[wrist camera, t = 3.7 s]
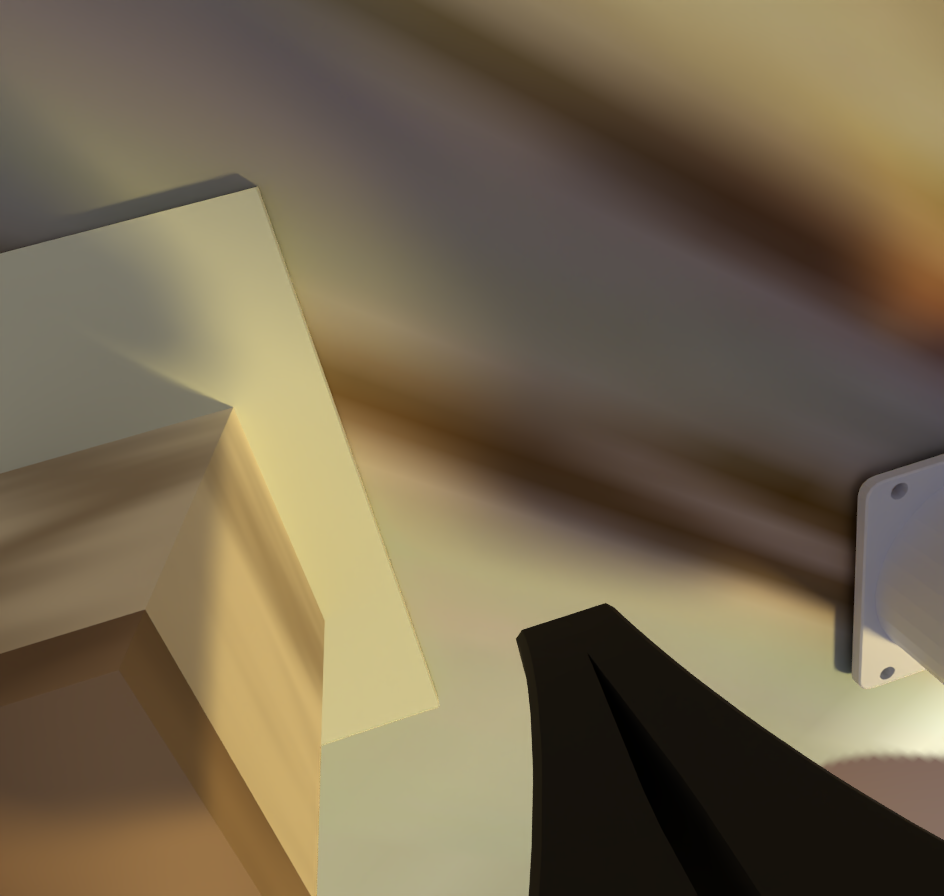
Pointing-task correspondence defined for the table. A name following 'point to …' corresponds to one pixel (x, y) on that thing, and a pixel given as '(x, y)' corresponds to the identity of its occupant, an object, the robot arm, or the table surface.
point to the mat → (212, 407)
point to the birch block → (156, 674)
